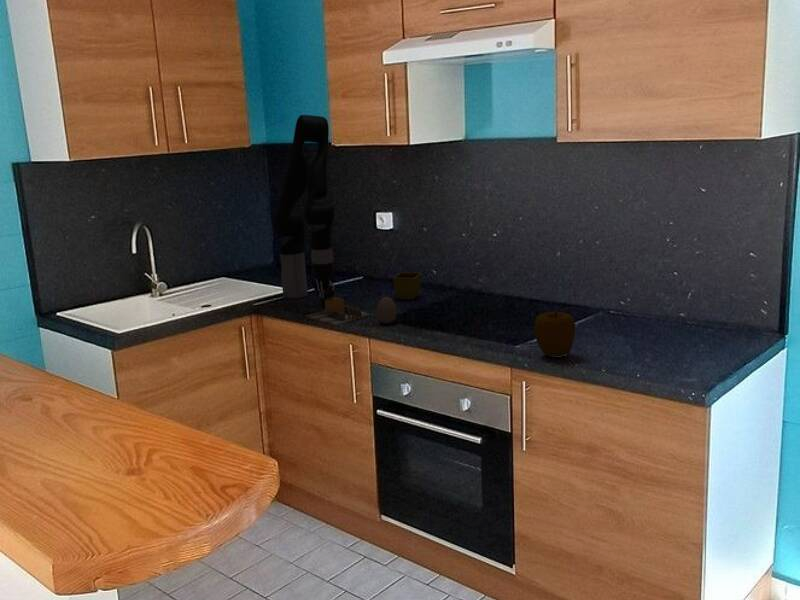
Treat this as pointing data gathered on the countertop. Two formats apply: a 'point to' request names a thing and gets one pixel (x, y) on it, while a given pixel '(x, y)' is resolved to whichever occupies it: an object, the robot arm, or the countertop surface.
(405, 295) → the flower pot
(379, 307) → the egg
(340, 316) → the header board
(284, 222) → the robot arm
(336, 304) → the plug block
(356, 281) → the countertop surface
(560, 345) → the apple
